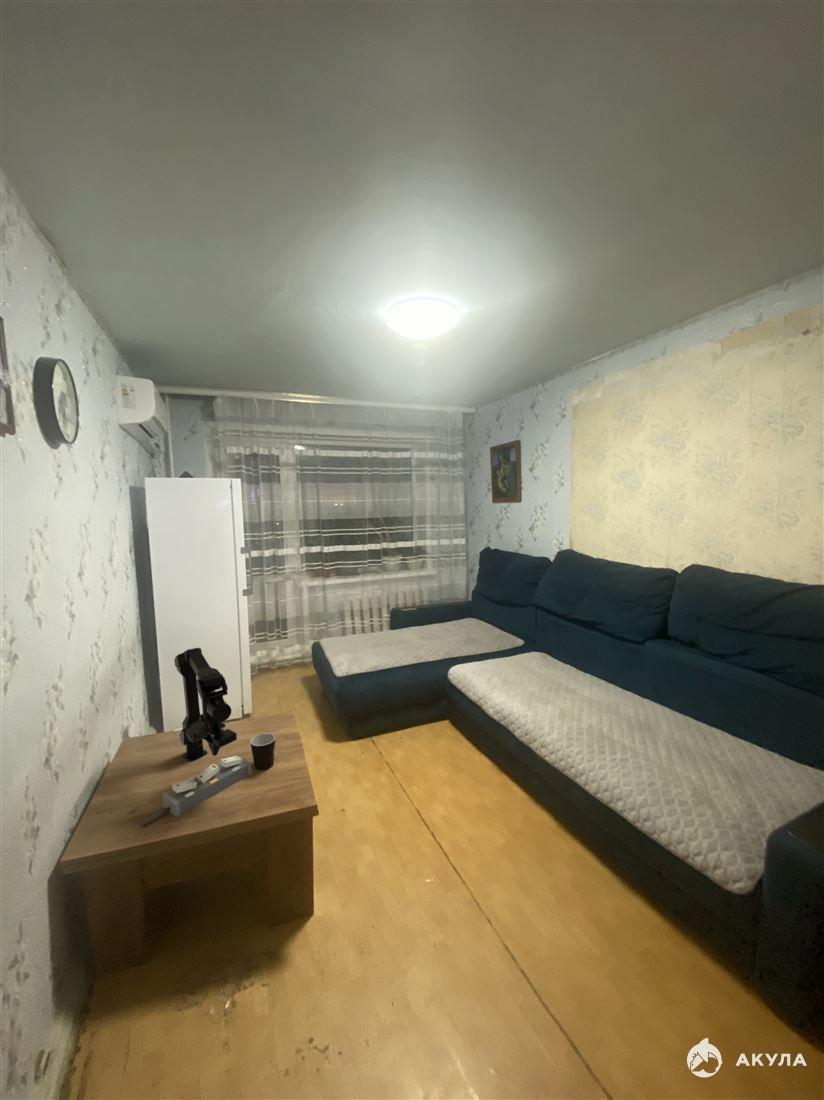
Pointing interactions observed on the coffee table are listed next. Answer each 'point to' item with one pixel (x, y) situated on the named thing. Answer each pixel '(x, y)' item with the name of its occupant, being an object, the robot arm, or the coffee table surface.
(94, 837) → the coffee table surface
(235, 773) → the power strip
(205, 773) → the block
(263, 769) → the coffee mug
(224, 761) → the block
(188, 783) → the white rectangular block
